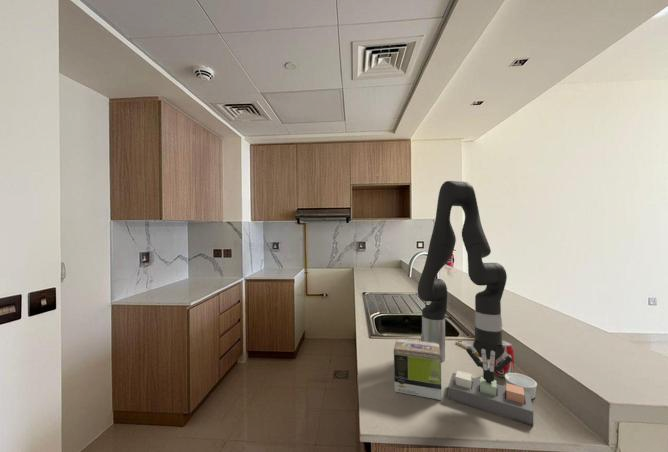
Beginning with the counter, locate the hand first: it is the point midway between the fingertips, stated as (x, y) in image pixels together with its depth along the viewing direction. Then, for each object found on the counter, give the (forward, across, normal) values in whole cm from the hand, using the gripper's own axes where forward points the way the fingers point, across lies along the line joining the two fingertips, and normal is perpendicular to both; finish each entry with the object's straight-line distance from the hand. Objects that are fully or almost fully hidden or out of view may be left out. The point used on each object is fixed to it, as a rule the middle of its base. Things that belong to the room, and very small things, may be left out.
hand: (488, 381), depth 84 cm
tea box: (+7, -21, -4) cm, 23 cm away
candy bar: (+7, -8, +38) cm, 39 cm away
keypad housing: (+7, 0, 0) cm, 7 cm away
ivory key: (+4, -7, 0) cm, 8 cm away
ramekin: (+7, +9, +12) cm, 17 cm away
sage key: (+4, 0, 0) cm, 4 cm away
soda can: (+7, +4, +22) cm, 23 cm away
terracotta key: (+4, +7, 0) cm, 8 cm away
